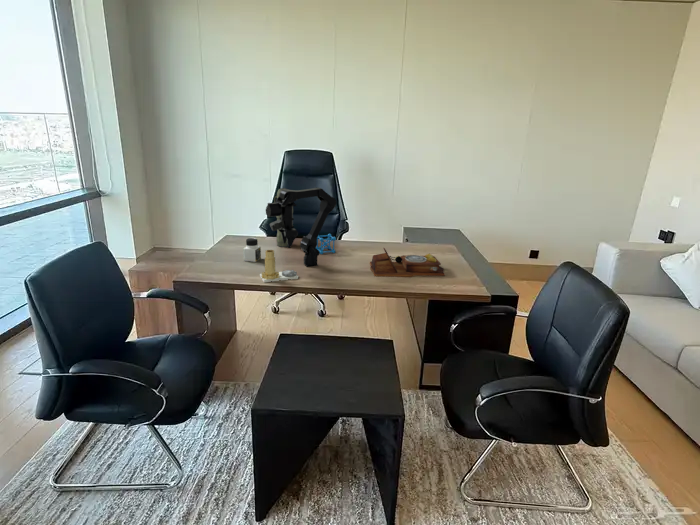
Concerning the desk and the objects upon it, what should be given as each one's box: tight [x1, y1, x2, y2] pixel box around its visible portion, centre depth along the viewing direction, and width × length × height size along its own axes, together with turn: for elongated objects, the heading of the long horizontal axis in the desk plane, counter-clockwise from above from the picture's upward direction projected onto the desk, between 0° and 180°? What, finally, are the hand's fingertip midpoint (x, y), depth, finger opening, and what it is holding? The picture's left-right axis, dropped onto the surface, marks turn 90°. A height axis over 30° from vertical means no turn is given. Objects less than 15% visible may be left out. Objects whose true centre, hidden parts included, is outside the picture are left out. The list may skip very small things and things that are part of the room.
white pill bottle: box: [243, 237, 262, 263], centre depth 228 cm, size 7×7×12 cm
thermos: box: [273, 187, 289, 248], centre depth 254 cm, size 9×12×35 cm
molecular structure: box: [316, 233, 337, 255], centre depth 248 cm, size 10×10×10 cm
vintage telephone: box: [369, 247, 446, 278], centre depth 224 cm, size 24×12×40 cm
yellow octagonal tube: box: [260, 249, 280, 280], centre depth 201 cm, size 8×8×13 cm
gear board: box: [259, 269, 299, 283], centre depth 205 cm, size 17×9×4 cm, turn 113°
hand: (287, 245), depth 213 cm, fingers open, 9 cm apart
